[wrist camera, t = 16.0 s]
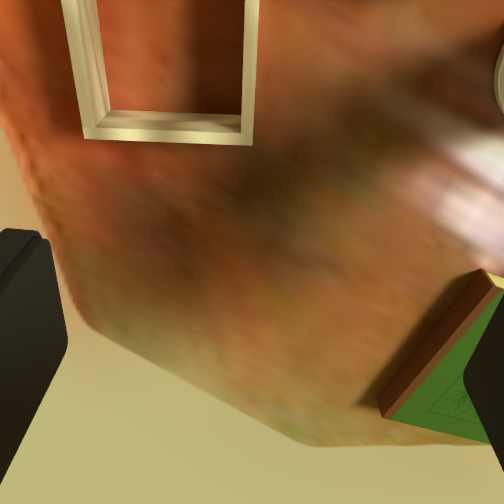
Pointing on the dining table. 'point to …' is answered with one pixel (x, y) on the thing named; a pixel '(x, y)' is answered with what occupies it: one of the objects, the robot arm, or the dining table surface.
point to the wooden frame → (149, 122)
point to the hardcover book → (445, 366)
